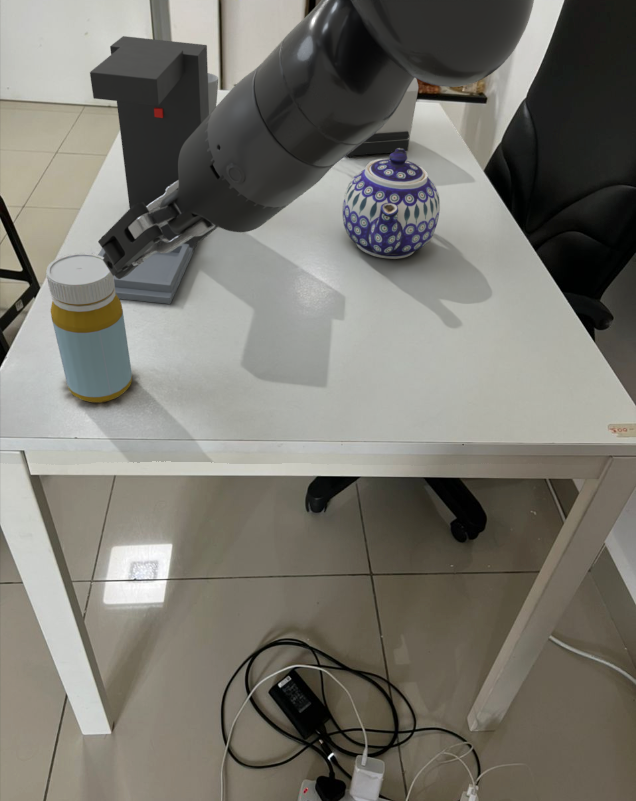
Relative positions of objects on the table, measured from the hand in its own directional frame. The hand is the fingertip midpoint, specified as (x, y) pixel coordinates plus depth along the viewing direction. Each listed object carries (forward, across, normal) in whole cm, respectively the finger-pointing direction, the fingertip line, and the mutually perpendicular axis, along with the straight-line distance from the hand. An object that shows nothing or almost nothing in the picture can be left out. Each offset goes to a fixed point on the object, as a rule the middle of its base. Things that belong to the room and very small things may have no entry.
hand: (154, 248), depth 54 cm
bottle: (+24, 0, +7) cm, 25 cm away
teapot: (+20, -52, +11) cm, 57 cm away
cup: (+62, -71, -31) cm, 99 cm away
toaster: (+43, -85, -12) cm, 96 cm away
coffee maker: (+37, -26, -6) cm, 46 cm away
